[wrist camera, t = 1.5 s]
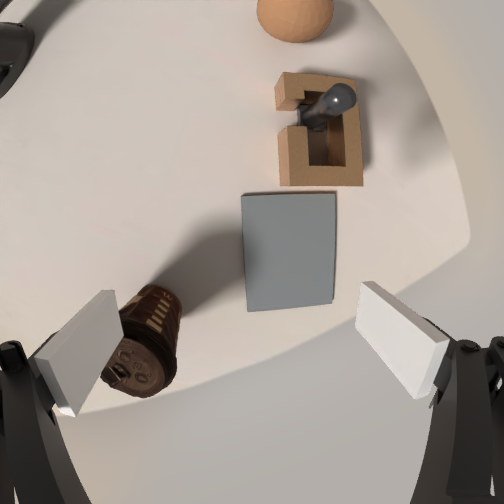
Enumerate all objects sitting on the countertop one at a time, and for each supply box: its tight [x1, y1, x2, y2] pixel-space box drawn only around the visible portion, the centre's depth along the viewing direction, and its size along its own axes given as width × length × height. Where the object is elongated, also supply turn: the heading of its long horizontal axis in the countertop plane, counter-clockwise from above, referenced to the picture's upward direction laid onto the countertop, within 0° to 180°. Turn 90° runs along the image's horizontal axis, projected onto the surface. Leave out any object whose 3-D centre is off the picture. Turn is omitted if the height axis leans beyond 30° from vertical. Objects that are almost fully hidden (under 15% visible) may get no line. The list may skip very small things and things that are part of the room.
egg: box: [257, 0, 333, 43], centre depth 20 cm, size 8×8×11 cm
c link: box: [275, 72, 363, 186], centre depth 27 cm, size 12×8×5 cm, turn 3°
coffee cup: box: [100, 285, 182, 398], centre depth 26 cm, size 9×8×13 cm
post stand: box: [297, 83, 357, 132], centre depth 24 cm, size 3×3×10 cm
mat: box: [241, 193, 335, 312], centre depth 32 cm, size 14×11×1 cm
